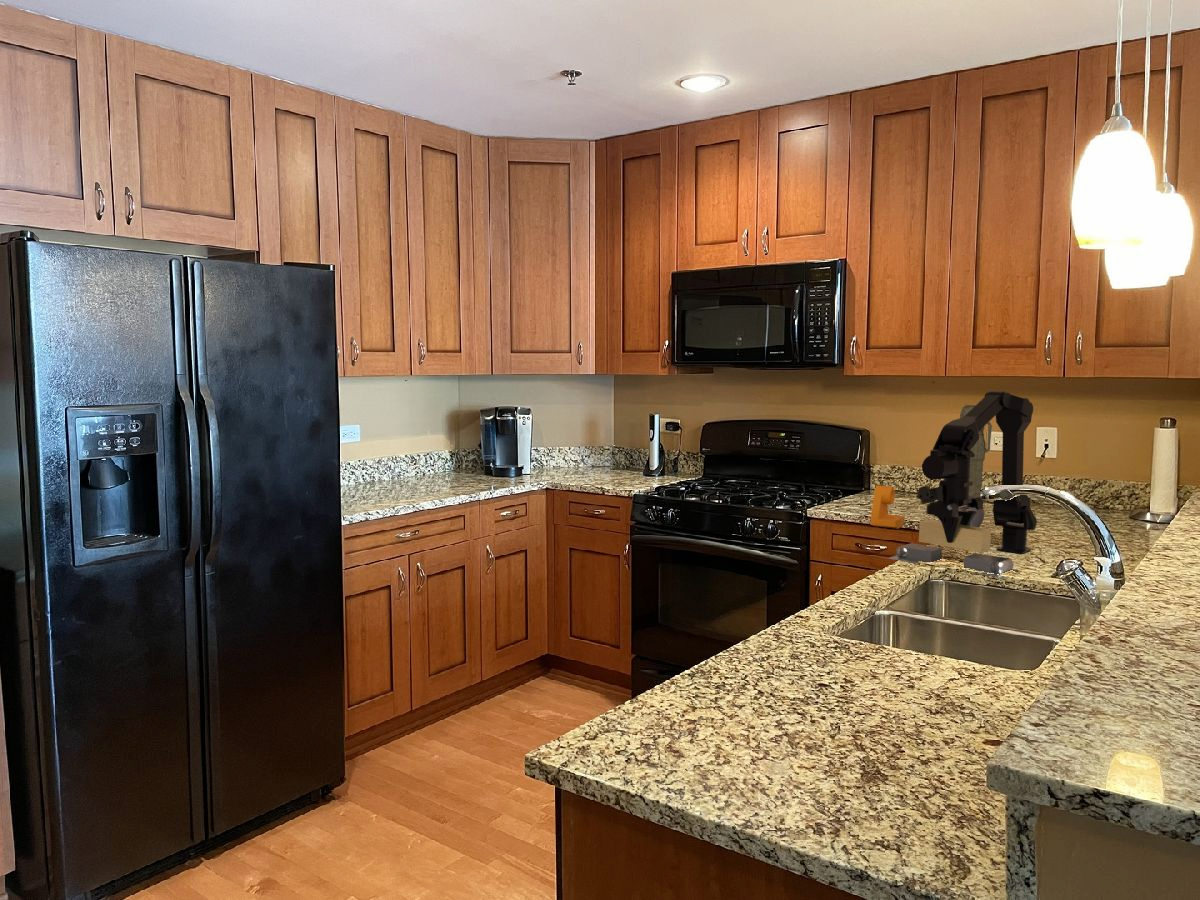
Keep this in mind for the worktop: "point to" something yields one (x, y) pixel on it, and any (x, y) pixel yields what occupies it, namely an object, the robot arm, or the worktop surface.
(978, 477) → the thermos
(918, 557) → the pair of grey blocks
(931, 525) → the tan wooden block
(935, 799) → the worktop surface
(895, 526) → the bracket
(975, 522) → the bluetooth speaker
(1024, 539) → the robot arm
